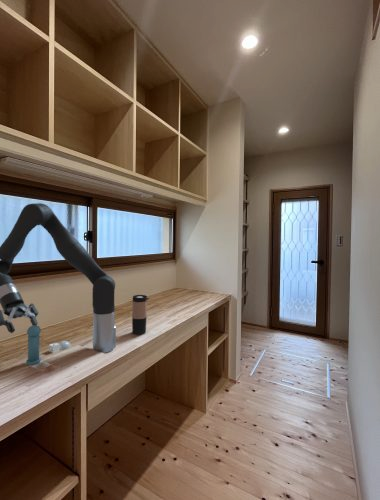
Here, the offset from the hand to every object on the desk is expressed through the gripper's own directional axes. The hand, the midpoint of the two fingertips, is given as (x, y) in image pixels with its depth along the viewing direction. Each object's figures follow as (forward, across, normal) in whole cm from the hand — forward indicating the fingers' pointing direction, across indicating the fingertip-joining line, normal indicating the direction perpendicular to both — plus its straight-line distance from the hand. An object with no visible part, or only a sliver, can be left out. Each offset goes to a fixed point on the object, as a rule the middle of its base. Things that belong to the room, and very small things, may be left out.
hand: (24, 328), depth 102 cm
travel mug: (+22, +50, -3) cm, 55 cm away
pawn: (+13, 0, +4) cm, 14 cm away
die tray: (+13, +13, +8) cm, 20 cm away
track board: (+18, 0, +1) cm, 18 cm away
